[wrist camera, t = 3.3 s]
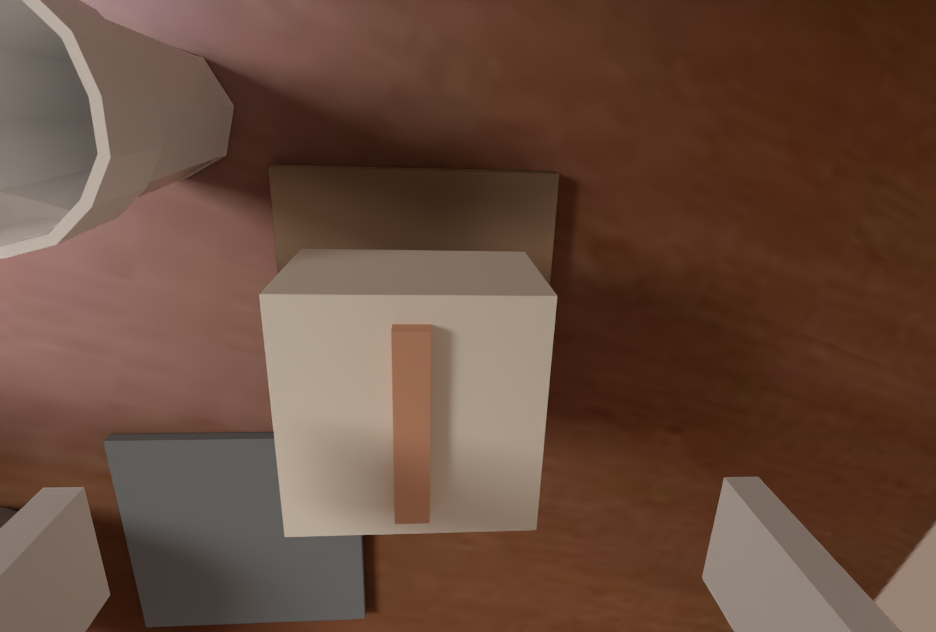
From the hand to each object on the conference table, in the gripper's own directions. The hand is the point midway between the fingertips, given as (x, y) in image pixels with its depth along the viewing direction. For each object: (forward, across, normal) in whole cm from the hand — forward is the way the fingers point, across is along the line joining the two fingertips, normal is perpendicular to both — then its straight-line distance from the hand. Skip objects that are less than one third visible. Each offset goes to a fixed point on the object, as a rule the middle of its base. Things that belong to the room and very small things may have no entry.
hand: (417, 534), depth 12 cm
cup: (+15, -10, +8) cm, 20 cm away
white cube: (+9, 0, 0) cm, 9 cm away
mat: (+15, -9, -13) cm, 22 cm away
